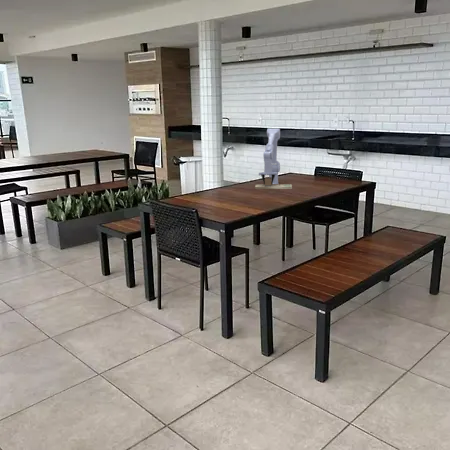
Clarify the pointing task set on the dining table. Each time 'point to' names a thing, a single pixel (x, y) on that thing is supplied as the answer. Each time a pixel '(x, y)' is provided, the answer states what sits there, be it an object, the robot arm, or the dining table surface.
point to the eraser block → (267, 181)
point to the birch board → (273, 187)
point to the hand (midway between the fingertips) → (268, 184)
